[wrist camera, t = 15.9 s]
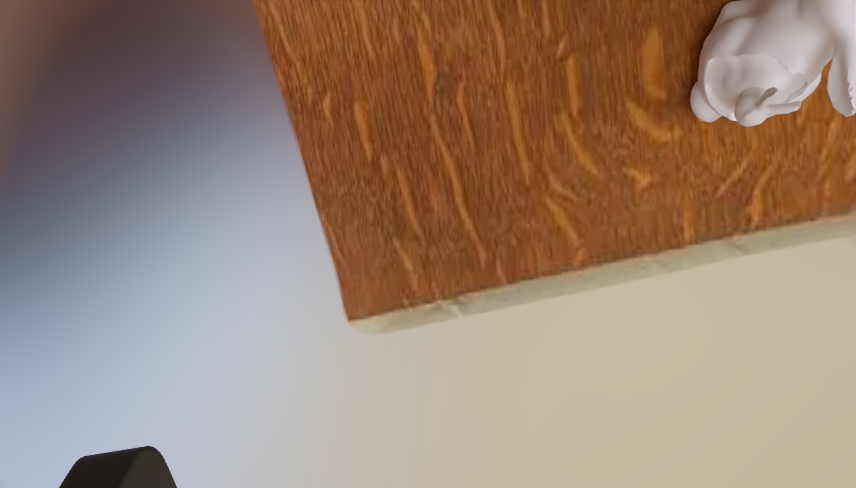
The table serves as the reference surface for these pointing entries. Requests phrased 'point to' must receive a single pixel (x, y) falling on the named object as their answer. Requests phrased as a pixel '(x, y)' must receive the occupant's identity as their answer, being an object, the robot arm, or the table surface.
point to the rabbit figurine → (775, 59)
